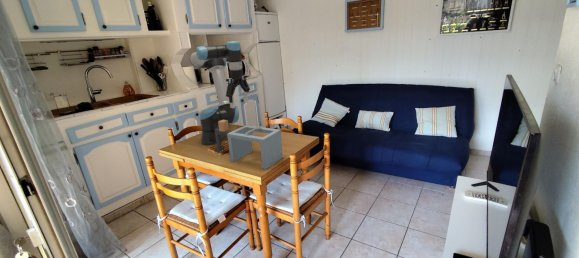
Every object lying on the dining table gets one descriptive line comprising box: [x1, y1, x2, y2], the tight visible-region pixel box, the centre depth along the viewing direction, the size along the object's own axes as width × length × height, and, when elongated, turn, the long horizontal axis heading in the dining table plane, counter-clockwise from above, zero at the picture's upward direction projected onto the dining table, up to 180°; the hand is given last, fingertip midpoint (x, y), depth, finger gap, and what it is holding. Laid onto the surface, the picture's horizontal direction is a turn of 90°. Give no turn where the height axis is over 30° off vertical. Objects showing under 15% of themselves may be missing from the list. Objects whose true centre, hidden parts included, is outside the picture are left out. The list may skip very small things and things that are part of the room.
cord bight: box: [214, 120, 233, 153], centre depth 168 cm, size 15×5×21 cm, turn 60°
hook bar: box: [245, 125, 263, 136], centre depth 154 cm, size 2×13×2 cm, turn 149°
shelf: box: [226, 124, 284, 170], centre depth 157 cm, size 25×17×17 cm
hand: (239, 105), depth 165 cm, fingers open, 13 cm apart
